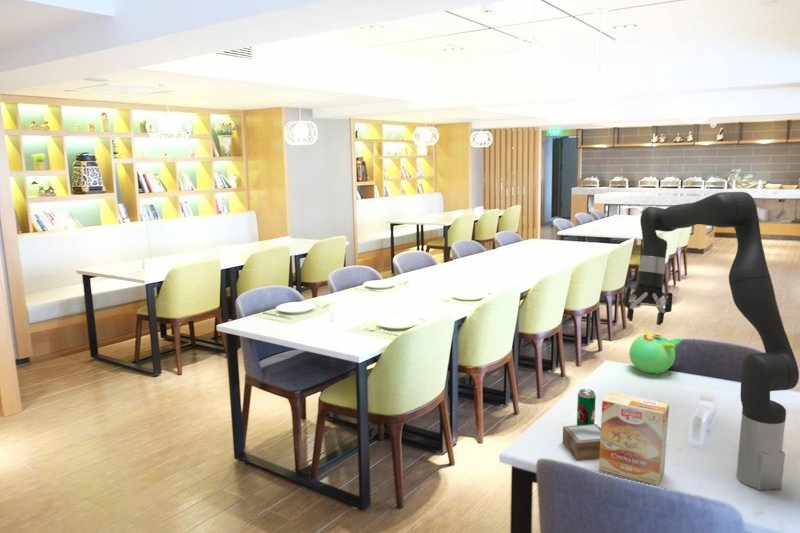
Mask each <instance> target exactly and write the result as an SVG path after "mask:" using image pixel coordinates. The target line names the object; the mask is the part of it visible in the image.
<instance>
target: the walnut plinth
mask: <svg viewBox="0 0 800 533" xmlns="http://www.w3.org/2000/svg"><path fill="white" fill-rule="evenodd" d="M600 437H601V426H600V425H598V424H597V423H594V424H591V425H579V426H577V425H568V426H562V444H563V445H564V447H565V448H566V449H567V450H568V451H569V453H570V454H571V453H572V454H571V455H572V456H573V457H574V459H575V460H576V461H584V460H596V459H599V458H600Z"/></svg>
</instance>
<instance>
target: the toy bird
mask: <svg viewBox="0 0 800 533" xmlns="http://www.w3.org/2000/svg"><path fill="white" fill-rule="evenodd" d="M682 341H683V339H682V337H677V338H676V337H675V338H673V339H668V338H666V337H664V336H662V335H660V334H655V333H651V332H648V331H644V334H642V335H639V336H637V337H636V338H635V339H634V340H633V341H632V343H631V345H630V347H629V351H628V352H629V355H628V356H629V360H630V362H631V363H632V365H633V366H634V367H635V368H637V369H638V370H640V371H642V372H644V373H648V374H660V373H661V374H662V373H665V372H666V371H667V370H669V369H670V368H671V367H672V366H673V364H674V362H675V359H676V350H675V349H676V347H677V346H678V345H680V343H681V342H682Z"/></svg>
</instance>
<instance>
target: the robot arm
mask: <svg viewBox="0 0 800 533" xmlns="http://www.w3.org/2000/svg"><path fill="white" fill-rule="evenodd" d="M639 223H640V228H641V236H642V250H641V257H640V260H639V265H638V272H637V278H636V279H637V281H636V287H635V288H632V287H629V286H626V287H625V288H624V294H623V298H622V303H621V304H622V306H624V307H626V308H627V312H626V318H627V319H628V321H629V322H632V321H633V318H634V314H635V313H634V310H635V309H634V308H635V307H636V306H637V305H638V304H639V305H640V303H641V304H648V305H654V306H655V308H656V309H657V310H658V312H657V316H656V317H657V318H656V323H655V324H656V325H658V326H661V324H663V323H664V317H665V313H666V314H667V313H670V312H671V313H672V308H673V307H672V306H673V292H664V291H663V286H664V279H665V272H666V257H667V250H668V242H667V240H666V239H663V238H661V237H659V236H658V234H657V231H658V232H665V233H666V232H673V231H675V230H677V229H686V228H691V227H694V226H696V225H702V226H710V227H714V228H715V227H716V228H721V229H722V228H734V231H735V234H736V235H735V236H736V242H737V249H736V254H735V257H734V258H733V261H732V264H731V268H730V269H729V273H728V282H729V283H728V284H729V287H730V292H731V296H732V300H733V303H734V305H735V307H736V308H737V309H738V311H739V312H740V313H741V314H742V315H743V317H745V319H746V320H747V321H748V322H749V323H750V324H751V325H752V327H753V328H754V329H755V330H756V332H757V333H758V335H759V336H760V339H761V341H762V344H763V347H764V350H765V352H760V353H759V352H756V353H751V354H750V353H749V354H747V355H746V356H745V357H744V359H743V361H742V364H741V370H740V396H739V397H740V402H741V406H742V408H741V420H740V431H739V439H738V440H739V444H738V452H737V463H736V464H737V466H736V478H737V479H738V481H740V482H741V483H743V484H745V485H746V486H748V487H752V488H755V489H756V490H757V491H767V490H768V491H769V490H777V489H782V486H783V478H784V477H783V476H784V469H785V468H784V467H785V459H786V453H785V452H784V451H783V446H784V436H785V427H786V419H787V418H786V417H787V409H786V408H785V406H783V405H782V404H781V403H778V402H776V401H775V400H772V399H771V392H776V391H787V390H792V389H794V388H795V387H797V385H798V383H799V380H800V379H799V378H800V373H799V367H798V363H797V360H796V356H795V354H794V352H793V348H792V346H791V344H790V341H789V338H788V336H787V333H786V329H785V327H784V323H783V319H782V316H781V314H780V310H779V306H778V303H777V298H776V293H775V289H774V285H773V280H772V277H771V274H770V271H769V266H768V264H767V258H766V255H765V250H764V246H763V242H762V235H761V228H760V221H759V214H758V209H757V204H756V202H755V200H754V197H753V196H752V195H751V194H750V193H748V192H745V191H724V192H723V191H722V192H716V193H713V194H711V195H708V196H706V197H704V198H702V199H699V200H696V201H693V202H688V203H680V204H679V203H678V204H674V205H671V206H668V207H666V208H664V207H663V208H662V207H655V206H648V207H645V208H644V210H643V211H642V213H641V215H640V222H639ZM633 293H634V295H635V296H636V297H635V298H633V300H632V301H631V302H630V303H629V301H630V296H631V295H633ZM662 297H663V299H664V300H665V303H664V304H665V307H664V306H663V304H662V302H661V300H660V299H661V298H662Z"/></svg>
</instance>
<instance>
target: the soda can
mask: <svg viewBox="0 0 800 533" xmlns="http://www.w3.org/2000/svg"><path fill="white" fill-rule="evenodd" d="M596 397H597V396H596V393H595V391H594V390H593V389H589V388H582V389H579V391H578V393H577V405H576V406H577V408H576V409H577V410H576V426H579V425H591V424H596V423H595V421H596V420H595V419H596V418H595V417H596Z"/></svg>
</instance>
